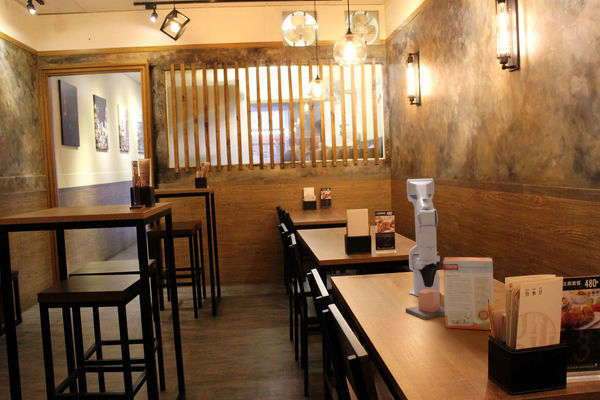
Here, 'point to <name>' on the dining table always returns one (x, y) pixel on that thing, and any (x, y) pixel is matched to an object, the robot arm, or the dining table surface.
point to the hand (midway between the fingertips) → (428, 286)
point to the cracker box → (468, 292)
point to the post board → (426, 312)
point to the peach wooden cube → (429, 300)
